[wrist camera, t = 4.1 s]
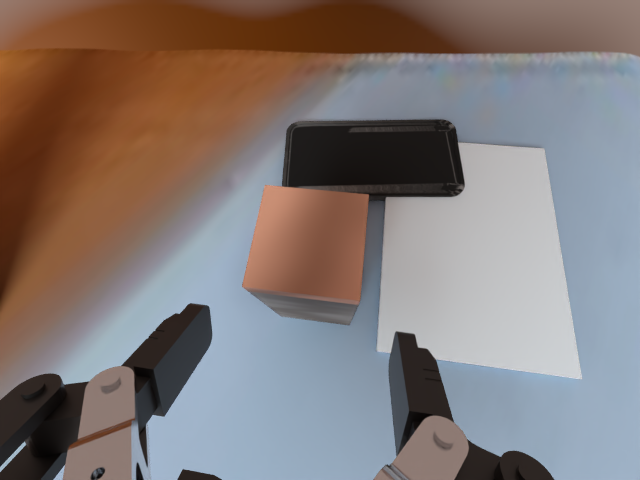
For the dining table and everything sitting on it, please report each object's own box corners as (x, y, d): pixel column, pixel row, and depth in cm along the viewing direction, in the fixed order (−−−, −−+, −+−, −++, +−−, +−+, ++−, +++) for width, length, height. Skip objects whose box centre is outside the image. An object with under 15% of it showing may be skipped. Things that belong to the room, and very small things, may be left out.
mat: (376, 351, 21) (377, 350, 20) (388, 141, 27) (389, 137, 27) (576, 378, 20) (582, 379, 19) (540, 152, 26) (544, 148, 26)
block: (281, 316, 22) (241, 286, 13) (292, 252, 24) (265, 184, 15) (349, 325, 22) (360, 301, 12) (355, 259, 23) (368, 194, 14)
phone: (466, 195, 24) (280, 195, 25) (461, 202, 25) (283, 201, 26) (453, 118, 27) (287, 120, 28) (449, 127, 28) (289, 129, 29)
